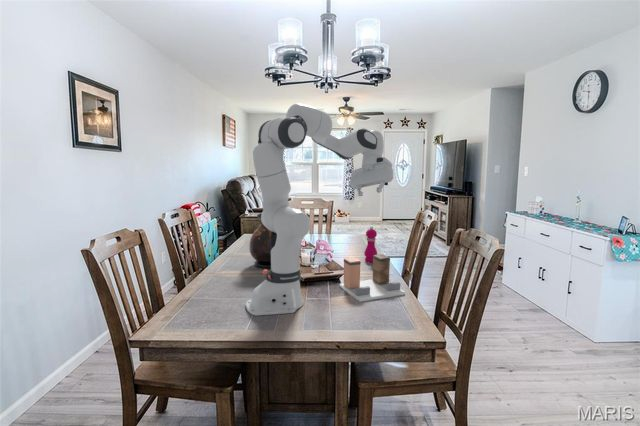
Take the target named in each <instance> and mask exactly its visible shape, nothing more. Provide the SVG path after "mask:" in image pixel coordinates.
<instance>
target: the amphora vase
mask: <svg viewBox="0 0 640 426" xmlns="http://www.w3.org/2000/svg"><path fill="white" fill-rule="evenodd" d="M261 215H262V212H261V213H257V214H256V217H257V218H258V219H259V221H260V223H259V226H258V227H257V228H256V229H255V230H254V231H253V233H252V234H251V236H250V240H249V244H248V247H249V253H250V255H251V257H252V258H253V259H254V260H255V261H254V266H255V267H256V268H258V269H261V270H262V269H263V270H265V269H266V270H270V269H271V250H272V248H273V247H274V246H275V243H276V240H277V233H275V232H272V231H270V230H268V229H267V228H266V227H265V226H264V225H263V223H262V221H261Z"/></svg>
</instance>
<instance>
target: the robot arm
mask: <svg viewBox="0 0 640 426" xmlns="http://www.w3.org/2000/svg"><path fill="white" fill-rule="evenodd" d="M259 127H260V128H259V129H258V136H257V137H258V140H257V145H256V146H255V147H254V149H253V151H252V157H253V158H252V159H253V166H254V171H255V174H256V175H255V176H256V178H257V182H258V186H259V188H260V193H261V198H262V212H261V213H262V215H261V219H260V220H261V221H262V223H263V225H264V226H265V227H266V228H267V229H268V230H270V231H272V232H275V233H277V240H276V243H275V246H274V247H273V248H272V250H271V269H263V271H262V273H263V275H264V276H265V279H264V280H263V281H262V282H261V283H260V284H258V285H257V286H256V287H254V289H253V291H252V294H251V299H248V300H246V303H245V308H246V310H247V312H248V313H249V314H250V315H252V316H257V317H258V316H269V315H280V314H281V315H282V314H283V315H285V314H293V313H296V311H297V310H298V309H300V308H302V306H303V305H304V300H303V296H302V291H301V280H302V279H301V278H302V273H301V268H300V253H301V252H300V250H301V246H302V243H303V239H304V238H305V236H306V235H307V234H308V233H309V231H310V229H311V223H312V222H311V219H310V217H309V215H308V214H307V213H305V212H304V211H302V210H300V209H298V208H294V207H291V206H290V205H289V194H290V193H291V190H292V187H291V183H290V180H289V175H288V172H287V167H286V163H285V161H284V152H285V151H284V150H287V149H295V148H297V147H299V146H301V145H303V143H304V142H305V140H306V136H307V137H309V138H311V140H312V141H313V142H314V143H316V144H317V145H319V146H321V147H323V148H325V149H327V150H328V151H331V152H332V153H334V154H335V155H337V156H338V157H339V158H341V159H343V160H346V161H347V160H350V159H351V158H353V157H355V156H357V155H359V154H362V159H361V161H362V162H361V167H359V168H355V169H354V170H353V171H352V172H351V175H350V179H349V180H350V181H349V186H350V187H351V188H352V189H354V190H356V191H357V196H358V197H362V196H363V194H364V192H363V191H362V188H367V187H371V186H377V185H378V186H377V187H376V192H377V194H378V193H382V189H383V188H384V186H385V184H386V183H391V182H392V181H393V180H394V169H393V163H392V162H391V161H390V160H389V159H388V158H386V157H383V154H384V145H385V144H384V137H383V134H382V133H381V132H380V131H378V130H376V129H373V130H368V129H367V128H365V127H361V128H358V129H356V130H354V131H352V132H350V133H349V134H346V135H345V136H342V137H336V136H334V135H333V134H331V133H332V131H333V120H332V118H331V115H329V114H328V113H327V112H325V111H323V110H321V109H319V108H316V107H314V106H311V105H307V104H303V103H294V104H292V105H291V106H289V108H288V110H287V111H286V115H285V117H281V118H280V117H279V118H275V119H270V120H267V121H266V122H263V123H262V124H261V126H259Z"/></svg>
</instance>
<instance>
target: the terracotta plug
mask: <svg viewBox="0 0 640 426" xmlns="http://www.w3.org/2000/svg"><path fill="white" fill-rule="evenodd" d="M361 265H362V261H361V260H360V259H358V258H356V257H354V256H353V257H345V258H343V283H344V285H345V286H346V287H348V288H349V289H352V288H359V287H360V281H361Z"/></svg>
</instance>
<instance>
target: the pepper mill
mask: <svg viewBox="0 0 640 426" xmlns="http://www.w3.org/2000/svg"><path fill="white" fill-rule="evenodd" d="M377 234H378V233H377V231H376V229H374V227H373V226H370V227H369V229H367V230H366V232H365V236H366V241H367V245H366V248H365V250H364V253H363V254H364V256H365V258H364V262H366V263H369V264H373V255H378V250H377V248H376V245H375V243H376V240H377V239H376V237H377Z"/></svg>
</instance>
